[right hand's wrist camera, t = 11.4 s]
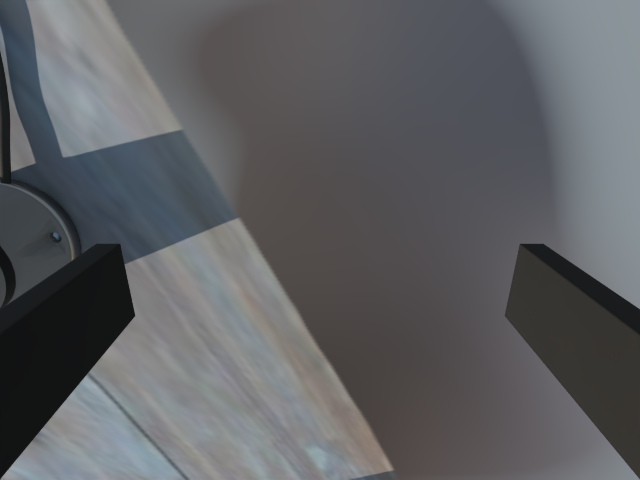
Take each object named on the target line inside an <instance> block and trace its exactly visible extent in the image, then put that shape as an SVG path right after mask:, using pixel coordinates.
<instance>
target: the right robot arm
mask: <svg viewBox="0 0 640 480" xmlns="http://www.w3.org/2000/svg"><path fill="white" fill-rule="evenodd" d="M134 317H135V313H134V308H133V303H132V298H131V294H130V289H129V284H128V279H127V275H126V270H125V265H124V260H123V256H122V251H121V246H120V244H96V245H94V246H93V247H91V248H90V249H88V250H87V251H86V252H84V253H83V254H81V247H80V241H79V237H78V234H77V231H76V229H75V227H74V225H73V223H72V221H71V219H70V218H69V217H68V215H67V214H66V212H65V211H64V210H63V209H62V208H61V207H60V206H59V205H58V204H57V203H56V202H55V201H54V200H53V199H52V198H50V197H49V196H48V195H46V194H45V193H43V192H41V191H40V190H38V189H36V188H34V187H32V186H30V185H27V184H24V183H21V182H18V181H14V180H11V162H10V110H9V101H8V92H7V85H6V79H5V73H4V67H3V62H2V57H1V53H0V479H1V477H2V476H3V475H4V474H5V473H6V471H7V470H8V469H9V468H10V467H11V465H12V464H13V463H14V462H15V461H16V459H17V458H18V457H19V456H20V455H21V453H22V452H23V451H24V450H25V448H26V447H27V446H28V445H29V444H30V442H31V441H32V440H33V439H34V438H35V436H36V435H37V434H38V433H39V432H40V430H41V429H42V428H43V427H44V426H45V424H46V423H47V422H48V421H49V419H50V418H51V417H52V416H53V415H54V413H55V412H56V411H57V410H58V409H59V407H60V406H61V405H62V404H63V403H64V401H65V400H66V399H67V398H68V396H69V395H70V394H71V393H72V392H73V390H74V389H75V388H76V387H77V386H78V384H79V383H80V382H81V381H82V380H83V378H84V377H85V376H86V375H87V374H88V372H89V371H90V370H91V369H92V367H93V366H94V365H95V364H96V363H97V361H98V360H99V359H100V358H101V357H102V355H103V354H104V353H105V352H106V351H107V349H108V348H109V347H110V346H111V345H112V343H113V342H114V341H115V340H116V338H117V337H118V336H119V335H120V334H121V332H122V331H123V330H124V329H125V328H126V326H127V325H128V324H129V323H130V322H131V320H132V319H133V318H134ZM505 317H506V318H507V319H508V320H509V322H510V323H511V324H512V325H513V326H514V328H515V329H516V330H517V331H518V332H519V334H520V335H521V336H522V337H523V338H524V340H525V341H526V342H527V343H528V344H529V346H530V347H531V348H532V349H533V351H534V352H535V353H536V354H537V355H538V357H539V358H540V359H541V360H542V361H543V363H544V364H545V365H546V366H547V367H548V369H549V370H550V371H551V372H552V374H553V375H554V376H555V377H556V378H557V380H558V381H559V382H560V383H561V384H562V386H563V387H564V388H565V389H566V390H567V392H568V393H569V394H570V395H571V396H572V398H573V399H574V400H575V401H576V403H577V404H578V405H579V406H580V407H581V408H582V410H583V411H584V412H585V413H586V415H587V416H588V417H589V418H590V419H591V421H592V422H593V423H594V424H595V426H596V427H597V428H598V429H599V430H600V432H601V433H602V434H603V435H604V436H605V438H606V439H607V440H608V441H609V442H610V444H611V445H612V446H613V447H614V448H615V450H616V451H617V452H618V453H619V455H620V456H621V457H622V458H623V459H624V461H625V462H626V463H627V464H628V465H629V467H630V468H631V469H632V470H633V471H634V473H635V474H636V475H637V476H638V477H639V479H640V309H639V308H637V307H636V306H634V305H633V304H631V303H630V302H628V301H627V300H625V299H624V298H622V297H621V296H619V295H618V294H616V293H615V292H613V291H612V290H610V289H609V288H608V287H606V286H605V285H603V284H602V283H600V282H599V281H597V280H596V279H594V278H593V277H591V276H590V275H588V274H587V273H585V272H584V271H582V270H581V269H580V268H578V267H577V266H575V265H574V264H572V263H571V262H569V261H568V260H566V259H565V258H563V257H562V256H560V255H559V254H557V253H556V252H554V251H553V250H551V249H550V248H549V247H547V246H546V245H544V244H520V246H519V251H518V256H517V260H516V265H515V270H514V275H513V280H512V284H511V289H510V294H509V298H508V303H507V308H506V313H505Z"/></svg>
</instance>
